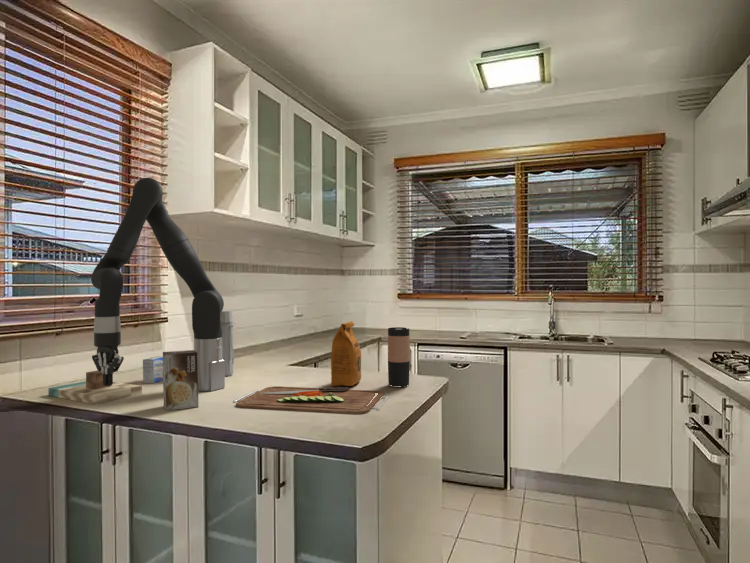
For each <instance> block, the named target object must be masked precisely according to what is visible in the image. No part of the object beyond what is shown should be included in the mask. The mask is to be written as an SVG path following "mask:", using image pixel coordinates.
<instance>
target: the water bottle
mask: <svg viewBox="0 0 750 563" xmlns="http://www.w3.org/2000/svg"><path fill="white" fill-rule="evenodd" d="M220 320H221V328H222V360H224V361H225V378H226V376H227V377H230V376H233V374H234V362H235V354H234V351H235V350H234V326H235V325H236V323H235V322H234V315H233V310H227V309H225V310H224V309H223V310H222V311H221V313H220Z"/></svg>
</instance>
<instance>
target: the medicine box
mask: <svg viewBox="0 0 750 563" xmlns="http://www.w3.org/2000/svg"><path fill="white" fill-rule="evenodd" d="M142 382H143V383H144V384H157V383H159V382H163V355H161V356H160V355H157V356H153V357H148V358H145V359H142Z"/></svg>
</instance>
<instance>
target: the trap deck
mask: <svg viewBox="0 0 750 563" xmlns="http://www.w3.org/2000/svg"><path fill="white" fill-rule="evenodd" d="M47 391H48V392H47V393H48V396H49V397H52V398H53V397H54V398H58V399H65V400H70V401H75V402H81V403H87V404H91V405H97V404H103V403H107V402H111V401H116V400H120V399H124V398H125V399H126V398H129V397H133V396H137V395H142V393H143V386H142V385H138V384H130V383H123V382H117V381H113V384H112V385H111V387H106V388H101V389H89V388H86V380H85V381H79V382H74V383H73V382H72V383H68V384H63V385H62V384H61V385H56V386H52V387H48V390H47Z"/></svg>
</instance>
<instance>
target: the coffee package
mask: <svg viewBox="0 0 750 563" xmlns="http://www.w3.org/2000/svg"><path fill="white" fill-rule="evenodd" d="M354 326H355V323H354V321H351V320H350V321H348V322H344V323H341V324H340V327H339V329H338V330H337V332H336V334H334V338H333V340H332V344H331V350H330V351H331V352H330V354H331V355H330V371H331V372H330V374H331V379H330V380H331V382H330V386H331V387H353V386H355V385H356V384H358V383H360V381H361V380H362V349H361V346H360V343H359V341H358V340H357V338H356V337H355V334H354V332H353V329H352V327H354Z"/></svg>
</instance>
